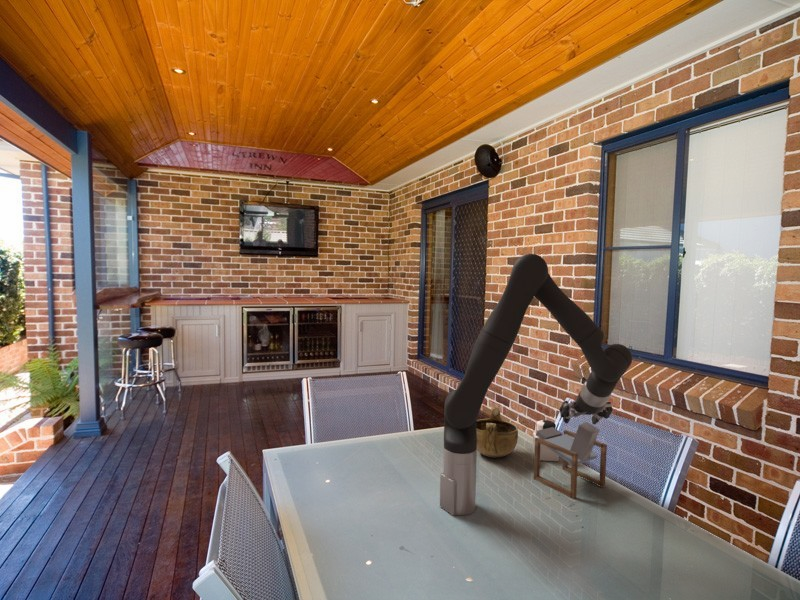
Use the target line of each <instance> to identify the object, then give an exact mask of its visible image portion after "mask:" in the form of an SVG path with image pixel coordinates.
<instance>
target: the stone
mask: <svg viewBox="0 0 800 600" xmlns="http://www.w3.org/2000/svg"><path fill="white" fill-rule="evenodd" d="M599 433H600V429H599V428H598V427H596V426H594V424H591V423H589V422H587V421H585V422H583V423H581V424H579V425H578V427H577V430H576V435H575V438H574V437H573V439H574V441H573V444H572V446H571V449H570V451H573V452H575V453H578V459H580V460H581V461H584V460H585V459H587V458H589V457H590V454H591V452H593V448H594V446H595V445H594V444H595V441H597V438H598V436H599Z"/></svg>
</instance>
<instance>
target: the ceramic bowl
mask: <svg viewBox="0 0 800 600" xmlns="http://www.w3.org/2000/svg"><path fill="white" fill-rule="evenodd" d="M518 429H519V428H518V426H517V425H516V424H515V423H512V422H510V421H508V420H505V419H504V420H503V419H502V417H501V407H500V406H491V409H490V416H489V418H482V419H477V452H479V453H480V454H481V455H483V456H485V457H489V458H495V459H496V458H503V457H505V456H507V455H509V454H510V453H512V452H513V451H514V450H515V449H516V446H517V443H518V438H519V430H518Z"/></svg>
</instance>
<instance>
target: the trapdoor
mask: <svg viewBox="0 0 800 600" xmlns="http://www.w3.org/2000/svg"><path fill="white" fill-rule="evenodd" d="M535 432H536V436H538V437H539V438H540V439H543V440H545V441H548V442H550V443H553V444H555V445H558V446H560V447H563V448H565V449H568V450H570V449H571V446H572V444H573V441H574V437H572V436H569V435H568V434H564V433H563V432H562V431H559V430H558V429H557V428H556V429H555V428H554V427H550V428H546V429H542V430H538V431H537V430H536V431H535ZM547 447H548V446H547ZM548 448H550V447H548ZM550 449H551V450H552V451H553V452H555V453H556V454H557V455H559V457H560V458H561V459H562V460H563V459H564V460H565V461H567V462H568V465H571V463H572V456H570V455H567V454H565V453H562V452H560V451H558V450H555V449H553V448H550ZM597 458H598V455H597V454H596V453H595V452H594V451H592V452H591V454H590V457H589V458H587V459H585V460H584V461H581V460H580V459H578V465H579V464H582V463H585V462H588V461H592V460H595V459H597Z"/></svg>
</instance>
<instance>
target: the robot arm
mask: <svg viewBox="0 0 800 600" xmlns="http://www.w3.org/2000/svg"><path fill="white" fill-rule="evenodd" d="M534 298H535V299H536V300H537V301H538V302H539V303H541V304H542V305H543V306H544V307H545V308H546V310H547V311H548V312H549V313H550V314H551V315H552V317H553V318H554V319H555V321H556V322H557V323H558V324H559V325H560V327H561V328H562V329H563V330H564V331H565V332H566V334H567V335H568V336H569V337H570V338H571V339H572V340H573V342H575V344H576V345H577V346H578V347H579V348H580V350H581V352H582V354H583V355H584V358H585V359H586V362H587V363H588V366H589V367H590V369H591V372H590V374H589V375H588V377H587V379H586V380H585V381H584V383H583V385H582V386H581V388H580V390H579V393H578V395H577V396H576V400H575V401H573V402H572V403H570V402H569V401H568V400H564V401H563V402H562V403H561V406H560V407H559V414H560V415H559V416H560V417H561V418H562V419H563V423H565V424H569V422H570V421H571V418H577V417H579V416H583V415H587V416H592V417H591V423H592V425H596V424H597V423H599V422H600V420H602V418H604V420H605V419H609V418H610V416H611V414H612V412H613V410H614V409H613V405H612V402H610V401H609V400H610V398H611V395H612V393H613V392H614V390H615V388H616V386H617V384H618V382H619V381H620V379H621V378H622V377H623V376H624V375H625V373H626V372H627V370H629V368H630V367H631V365H632V363H633V355H632V352H631V351H630V349H629V348H628V347H627V346H625V345H624V344H621V343H613V344H610V345H608V346H607V347H605V349H603V347H602V343H603V341H604V338H605V333H604V331H603V329H601V328H600V326H599V325H597V324H596V322H595V321H594V320H593V319H592V317H590V316H589V315H588V314H587V313H586V312H585V311H584V310H583V309H582V308H581V307H580V306H579V305H577V304H576V303H575V302H574V301H573V300H572V299H571V298H570V297H568V295H566V293H565V292H564V291H563V290H561V288H560V287H559V285H557V283H556V282H555V281H554V280H553V278H552V276H551V275H550V273H549V267H548V263H547V262H546V261H545V259H544V258H543V257H542V256H540V255H538V254H535V253H526V254H523V255H522V256H520V257H519V258H517V259H516V260H515V262H514V263H513V266H512V269H511V272H510V275H509V278H508V281H507V283H506V285H505V289H504V291H503V293H502V296H500V299H499V301H498V302H497V303H496V305H495V307H494V308H493V310H492V311H491V313H490V314H489V316H488V318H486V319H487V320H486V321H485V323H484V325H483V326H482V328H481V330H480V332H479V335H478V336H477V338H476V340H475V343H474V345H473V347H472V350H471V354H470V356H469V359H468V363H467V366H466V370H465V373H464V375H463V378H462V379H461V380H460V382H459V385H458V386H457V388H456V389H453V390H452V391H450V392H449V393H448V394H447V396H446V398H445V401H444V408H443V409H444V415H443V417H444V418H443V419H444V420H443V421H444V423H443V425H444V427H443V461H442V462H443V463H442V464H443V465H442V466H443V467H442V468H443V469H442V473H440V476H439V477H440V478H439V507H440V506H441V507H440V508H442V509H443V510H444V509H445V510H444V511H446V512H447V513H448V512H449V514H450V515H451V516H453V515H454V516H466V515H470V514H472V513H474V512H475V510H476V496H477V495H476V493H477V491H476V490H477V484H476V483H477V453H478V451H477V420H478V416H479V413H480V411H481V408H482V405H483V402H484V400H485V397H486V396H487V395H486V394H487V392H488V391H489V388H490V386H491V384H492V382H493V381H494V380H495V378H496V377H497V374H498V373H499V372H500V369H501V367H502V366H503V364H504V362H505V361H506V359H507V357H508V356H509V353H510V351H511V349H512V348H513V344H514V343H515V341H516V338H517V336H518V333H519V331H520V329H521V326H522V323H523V320H524V318H525V315H526V312H527V310H528V308H529V306H530V304H531V302H532V301H533V299H534Z"/></svg>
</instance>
